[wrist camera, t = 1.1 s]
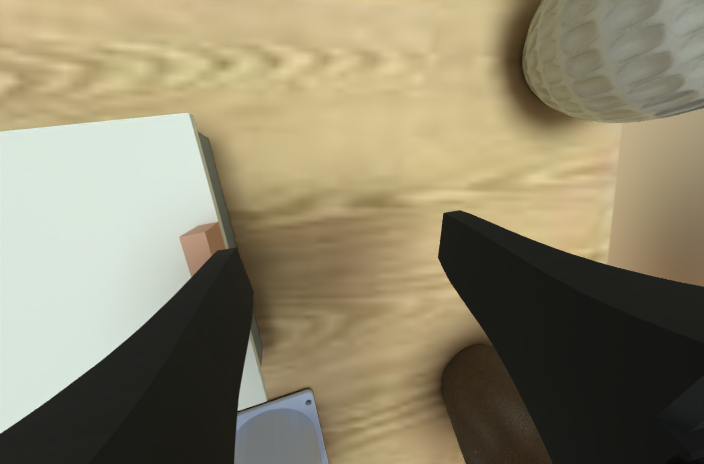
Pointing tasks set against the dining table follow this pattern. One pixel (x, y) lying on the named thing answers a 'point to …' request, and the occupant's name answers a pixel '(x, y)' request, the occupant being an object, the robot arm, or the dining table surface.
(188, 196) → the lid
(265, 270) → the dining table surface
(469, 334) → the dining table surface
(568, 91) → the vase
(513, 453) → the plant pot
